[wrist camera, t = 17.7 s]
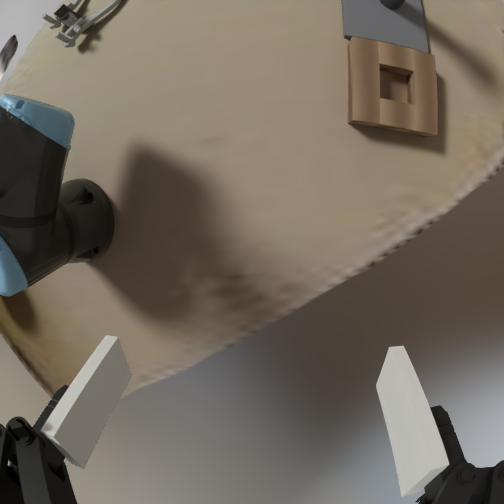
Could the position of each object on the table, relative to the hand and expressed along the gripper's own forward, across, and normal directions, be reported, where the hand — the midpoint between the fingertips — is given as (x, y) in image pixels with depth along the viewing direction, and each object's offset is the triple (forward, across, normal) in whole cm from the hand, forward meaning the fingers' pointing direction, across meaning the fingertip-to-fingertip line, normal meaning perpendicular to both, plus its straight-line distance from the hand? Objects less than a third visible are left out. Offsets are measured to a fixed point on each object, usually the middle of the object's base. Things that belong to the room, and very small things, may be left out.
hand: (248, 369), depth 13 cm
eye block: (+31, +17, +18) cm, 39 cm away
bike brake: (+36, -31, +42) cm, 63 cm away
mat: (+32, +18, +34) cm, 50 cm away
